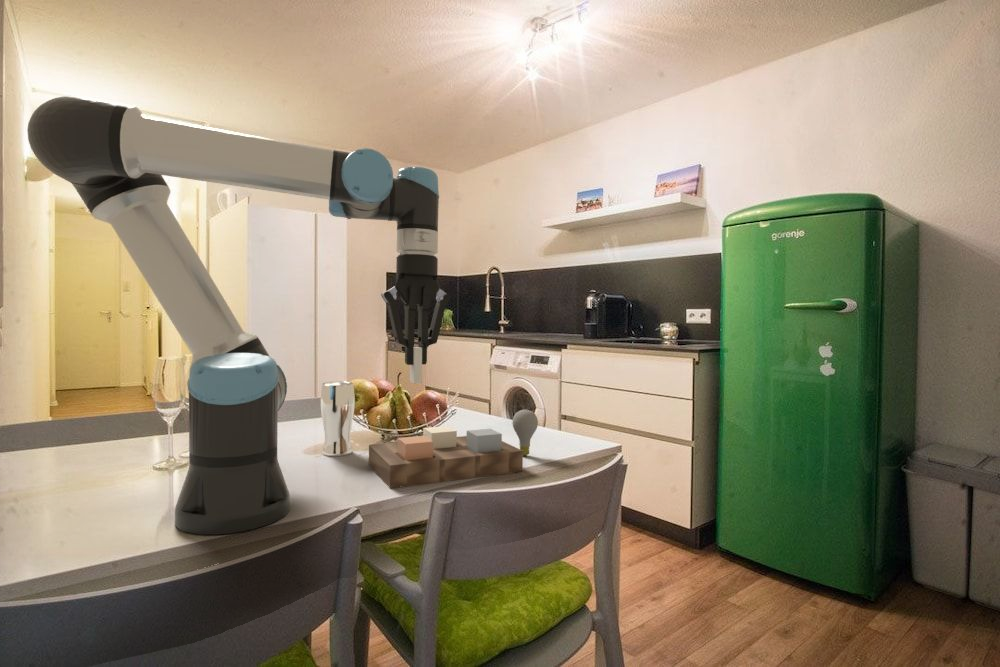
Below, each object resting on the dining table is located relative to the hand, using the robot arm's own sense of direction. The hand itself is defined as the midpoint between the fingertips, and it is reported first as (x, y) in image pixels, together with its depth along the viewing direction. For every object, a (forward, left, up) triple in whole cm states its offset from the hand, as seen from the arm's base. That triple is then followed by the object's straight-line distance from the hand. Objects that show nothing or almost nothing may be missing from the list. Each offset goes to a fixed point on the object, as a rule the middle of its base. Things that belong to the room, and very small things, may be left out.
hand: (415, 382), depth 101 cm
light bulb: (+26, +4, -18) cm, 31 cm away
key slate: (+14, -1, -15) cm, 21 cm away
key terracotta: (0, -1, -16) cm, 16 cm away
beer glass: (-10, +22, -18) cm, 30 cm away
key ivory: (+7, +5, -15) cm, 18 cm away
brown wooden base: (+7, +2, -17) cm, 19 cm away
